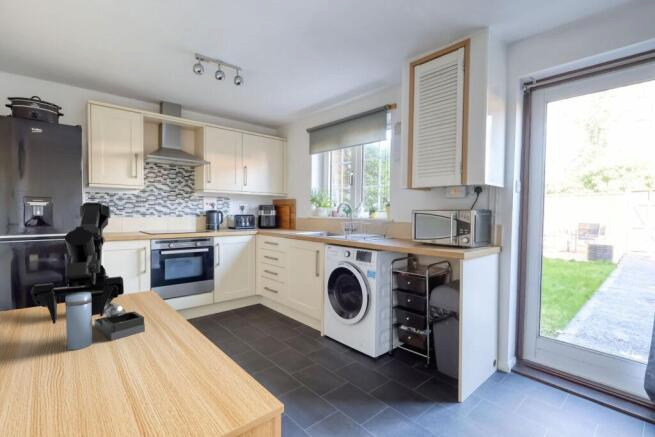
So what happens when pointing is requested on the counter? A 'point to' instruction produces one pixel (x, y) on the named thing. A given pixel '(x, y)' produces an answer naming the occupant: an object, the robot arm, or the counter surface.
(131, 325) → the dark grey open box
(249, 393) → the counter surface
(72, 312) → the dome-capped cylinder
